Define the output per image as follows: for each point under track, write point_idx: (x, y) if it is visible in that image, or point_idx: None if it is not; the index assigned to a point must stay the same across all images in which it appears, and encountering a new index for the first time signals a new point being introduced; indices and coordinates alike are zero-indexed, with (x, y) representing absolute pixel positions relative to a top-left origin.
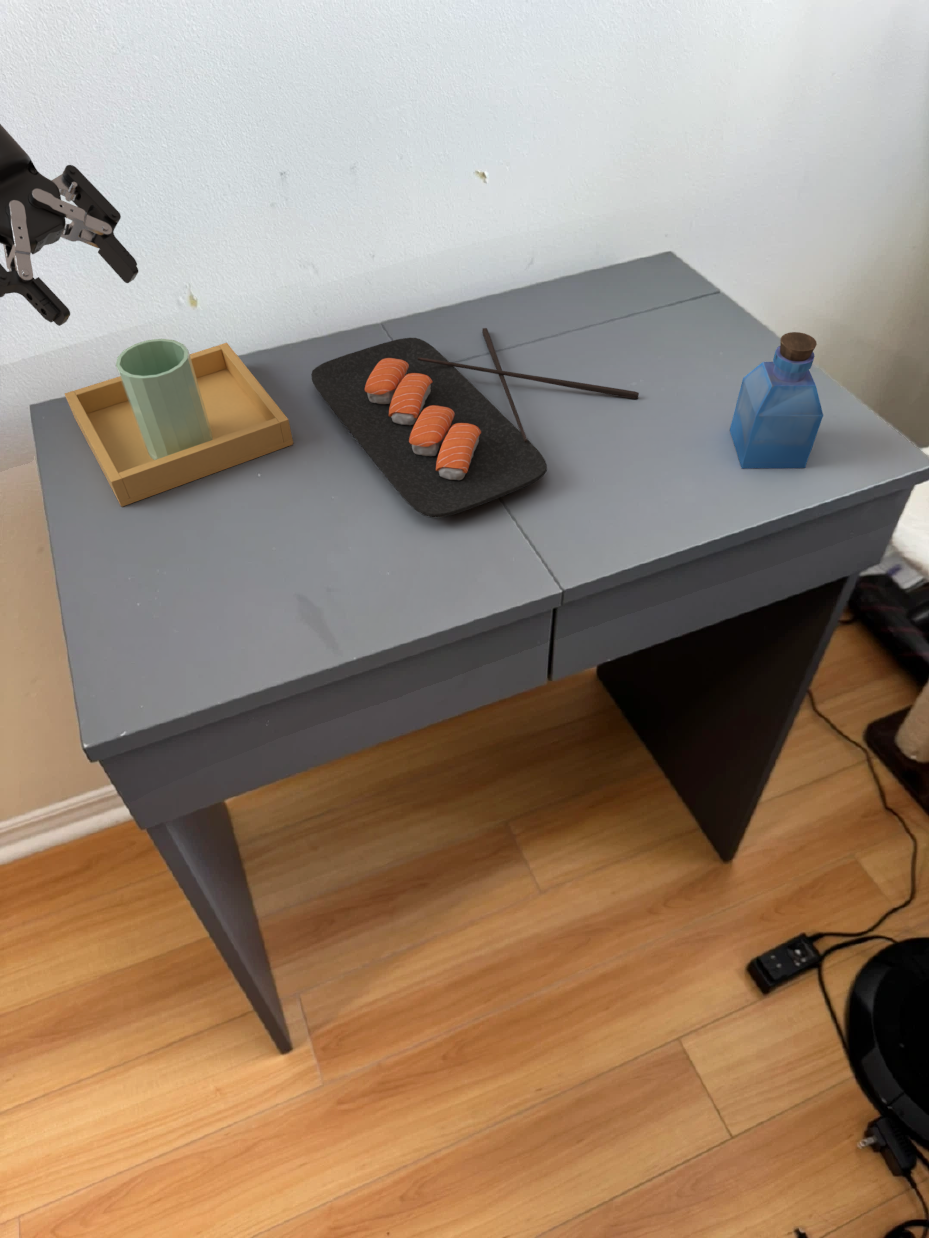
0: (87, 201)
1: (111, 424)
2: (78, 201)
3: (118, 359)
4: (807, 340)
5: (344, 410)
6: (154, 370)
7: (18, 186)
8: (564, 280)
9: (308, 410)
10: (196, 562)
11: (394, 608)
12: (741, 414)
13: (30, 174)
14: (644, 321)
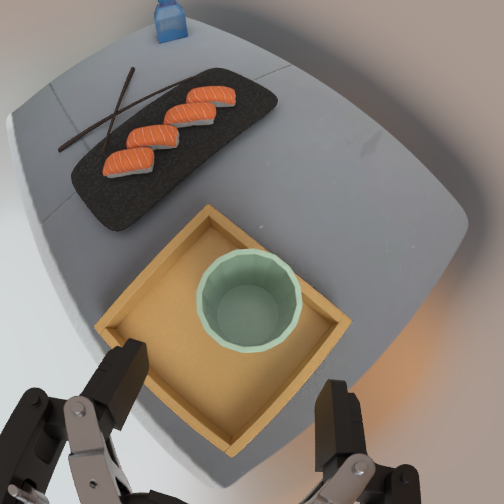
0: (31, 463)
1: (238, 403)
2: (38, 485)
3: (268, 345)
4: None
5: (170, 180)
6: (219, 333)
7: None
8: (19, 140)
9: (159, 226)
10: (369, 228)
11: (342, 113)
12: (167, 28)
13: None
14: (64, 92)
